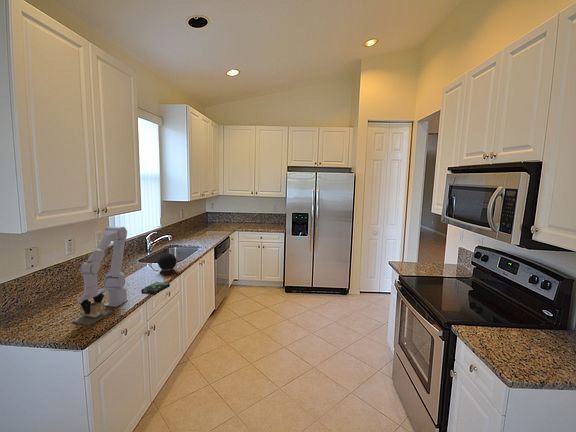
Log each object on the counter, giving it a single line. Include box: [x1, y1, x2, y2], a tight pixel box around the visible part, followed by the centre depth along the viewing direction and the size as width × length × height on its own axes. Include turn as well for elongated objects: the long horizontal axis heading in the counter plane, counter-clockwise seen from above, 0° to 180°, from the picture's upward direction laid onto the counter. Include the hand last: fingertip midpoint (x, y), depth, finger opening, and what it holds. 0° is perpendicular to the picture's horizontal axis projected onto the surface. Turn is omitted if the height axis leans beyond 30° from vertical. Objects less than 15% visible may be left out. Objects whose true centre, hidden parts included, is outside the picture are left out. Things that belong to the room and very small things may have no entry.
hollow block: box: [79, 301, 106, 317], centre depth 150 cm, size 6×9×5 cm, turn 78°
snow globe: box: [157, 252, 178, 276], centre depth 223 cm, size 13×13×15 cm
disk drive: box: [140, 281, 171, 295], centre depth 190 cm, size 10×3×15 cm
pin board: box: [72, 309, 113, 326], centre depth 150 cm, size 14×10×5 cm
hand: (92, 311), depth 150 cm, fingers closed on hollow block, 5 cm apart
